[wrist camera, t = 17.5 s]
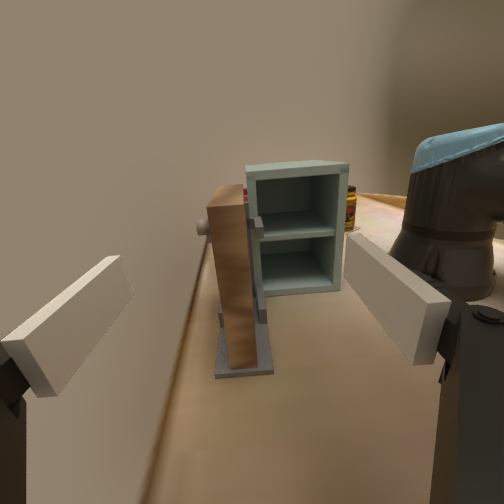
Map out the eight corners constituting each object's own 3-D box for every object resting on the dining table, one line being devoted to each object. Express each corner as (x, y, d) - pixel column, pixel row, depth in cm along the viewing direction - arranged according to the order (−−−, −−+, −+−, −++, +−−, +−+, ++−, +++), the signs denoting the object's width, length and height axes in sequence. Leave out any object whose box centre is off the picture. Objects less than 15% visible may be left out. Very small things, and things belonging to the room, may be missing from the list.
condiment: (345, 234, 64) (349, 189, 60) (320, 228, 71) (321, 187, 66) (360, 228, 68) (365, 185, 64) (335, 223, 75) (337, 183, 70)
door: (253, 300, 38) (242, 184, 31) (258, 367, 26) (243, 204, 19) (226, 302, 38) (210, 186, 31) (219, 370, 26) (191, 208, 19)
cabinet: (313, 253, 55) (316, 159, 47) (390, 364, 26) (429, 171, 18) (228, 260, 55) (216, 167, 47) (211, 378, 26) (174, 192, 18)
